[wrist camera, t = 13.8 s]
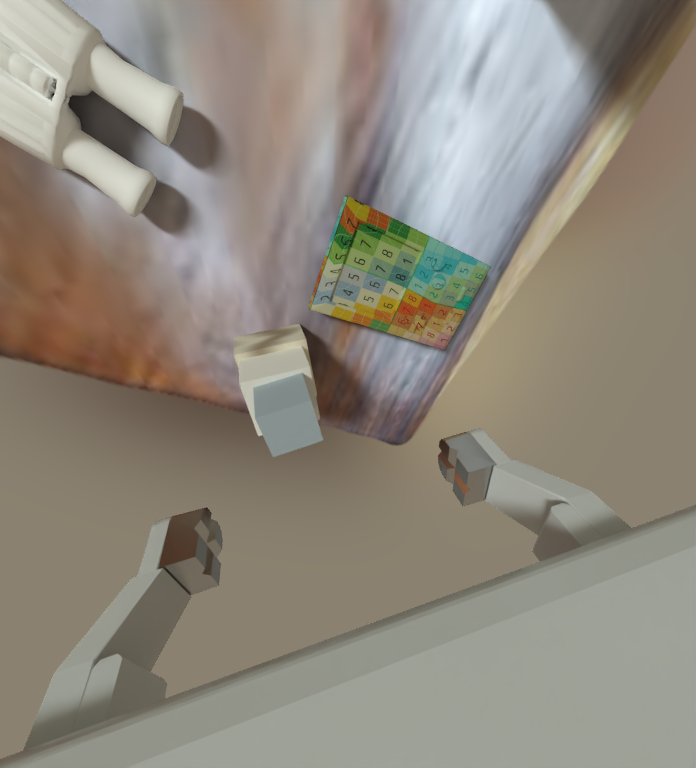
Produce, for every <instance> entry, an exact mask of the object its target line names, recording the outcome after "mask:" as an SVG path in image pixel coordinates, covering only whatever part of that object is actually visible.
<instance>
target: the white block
mask: <svg viewBox="0 0 696 768" xmlns="http://www.w3.org/2000/svg"><path fill="white" fill-rule="evenodd" d="M300 373H302V374H303V377H304V380H305V384H306V387H307V390H308V393H309V396H310V399H311V402H312V405H313V408H314V412H315V415H316V418H317V420H320V415H319V410H318V405H317V400H316V395H315V390H314V385H313V380H312V375H311V370H310V366H309V363H308V361H307V358H306V356H305V353H304V350H303V348H302V346H300V347H296V348H291V349H287V350H282V351H278V352H273V353H269V354H264V355H260V356H255V357H251V358H247V359H242V360H239V385H240V387H241V390H242V393H243V395H244V398H245V401H246V404H247V406H248V409H249V412H250V415H251V417H252V420H253V423H254V426H255V428H256V431H257V434H258V436H261V435H262V432H261V430H260V428H259V426H258V424H257V422H256V419H255V410H254V393H253V388H254V387H257V386H260V385H264V384H267V383H270V382H273V381H277V380H280V379H283V378H287V377H290V376H293V375H297V374H300Z"/></svg>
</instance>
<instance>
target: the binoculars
mask: <svg viewBox="0 0 696 768" xmlns="http://www.w3.org/2000/svg"><path fill="white" fill-rule="evenodd" d="M55 84H56V89H55ZM91 91H94V92H95V93H96V94H98V95H99V96H101V97H102V98H103V99H105V100H106V101H108V102H109V103H111V104H112V105H113V106H115V107H116V108H118V109H119V110H121V111H122V112H124V113H125V114H126V115H128V116H129V117H131V118H132V119H133V120H135V121H136V122H138V123H139V124H140V125H142V126H143V127H145V128H146V129H147V130H149V131H150V132H151V133H152V134H153V135H154V136H155V137H156V138H157V139H158V140H159V141H160V142H161V143H163V144H165V145H167V146H169V145H170V144H171V142H172V141H173V139H174V137H175V135H176V132H177V129H178V126H179V123H180V119H181V115H182V109H183V93H182V92H181V91H180V90H178V89H177V88H176V87H174V86H171V85H168V84H165V83H162V82H160V81H158V80H157V79H155V78H153V77H152V76H150V75H148V74H147V73H145V72H143V71H141V70H140V69H138V68H136V67H134V66H133V65H131V64H129V63H127V62H125V61H123V60H122V59H121V58H120V57H119V56H118V55H116V54H115V53H114V52H113V51H112V50H111V49H110V48H109V47H108V46H106V44H105V42H104V41H103V37H102V34H101V33H100V31H99V30H98V29H96V28H95V27H94V26H93V25H91V24H90V23H89V22H88V21H86V20H85V19H84V18H83V17H81V16H80V15H79V14H78V13H76V12H75V11H74V10H73V9H71V8H70V7H69V6H68V5H66V4H65V3H64V2H63V1H61V0H0V137H2V138H4V139H5V140H7V141H9V142H11V143H12V144H14V145H16V146H18V147H19V148H21V149H23V150H25V151H26V152H28V153H30V154H32V155H33V156H35V157H37V158H38V159H40V160H42V161H44V162H45V163H47V164H49V165H51V166H52V167H54V168H56V169H58V170H62V169H69V170H71V171H73V172H75V173H77V174H79V175H81V176H83V177H85V178H86V179H88V180H89V181H90V182H91V183H93V184H94V185H95V186H96V187H98V188H99V189H100V190H101V191H103V192H104V193H105V194H107V195H108V196H109V197H111V198H112V199H113V200H115V201H116V202H117V203H119V205H120V206H121V207H122V208H123V209H124V210H125V211H126V212H127V213H128V214H130V215H131V216H133V217H136V216H138V215H139V214H140V213H141V212H142V210H143V209H144V208H145V206H146V205H147V203H148V201H149V199H150V198H151V195H152V193H153V191H154V188H155V185H156V181H157V178H156V176H155V175H153V174H152V173H151V172H149V171H147V170H145V169H142V168H139V167H137V166H135V165H134V164H132V163H131V162H129V161H128V160H126V159H125V158H123V157H121V156H120V155H118V154H117V153H115V152H114V151H112V150H111V149H109V148H108V147H106V146H105V145H103V144H102V143H100V142H99V141H97V140H96V139H94V138H93V137H91V136H89V135H88V134H86V133H85V132H83V131H82V130H81V122H80V119H79V118H78V116H77V115H76V114H75V113H74V112H73V111H72V110H71V109H70V108H69V105H68V102H69V100H70V98H69V97H71V96H72V95H83V96H86V95H88V94H89V93H90V92H91ZM53 93H55V94H54V96H52V95H53Z"/></svg>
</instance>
